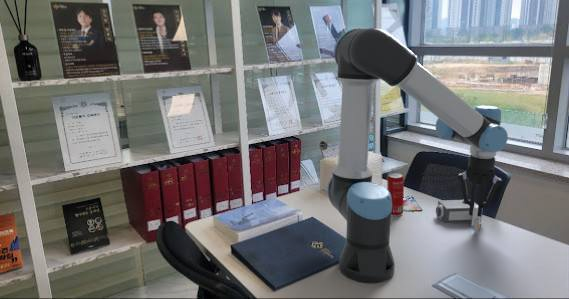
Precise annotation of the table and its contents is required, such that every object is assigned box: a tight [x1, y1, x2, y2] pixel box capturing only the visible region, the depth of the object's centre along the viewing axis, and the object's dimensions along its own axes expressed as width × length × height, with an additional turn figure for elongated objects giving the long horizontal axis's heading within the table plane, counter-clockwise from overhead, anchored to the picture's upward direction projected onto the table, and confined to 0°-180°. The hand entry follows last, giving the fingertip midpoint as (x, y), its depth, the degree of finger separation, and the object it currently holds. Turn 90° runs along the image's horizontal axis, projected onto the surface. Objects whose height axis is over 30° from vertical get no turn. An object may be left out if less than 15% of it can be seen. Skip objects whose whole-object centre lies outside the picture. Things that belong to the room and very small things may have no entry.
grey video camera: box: [435, 198, 478, 224], centre depth 151 cm, size 14×8×6 cm, turn 93°
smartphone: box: [403, 195, 423, 212], centre depth 165 cm, size 8×1×15 cm
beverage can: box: [386, 172, 405, 217], centre depth 154 cm, size 6×6×15 cm
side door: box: [473, 208, 483, 235], centre depth 143 cm, size 11×1×5 cm, turn 150°
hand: (473, 224), depth 140 cm, fingers closed
